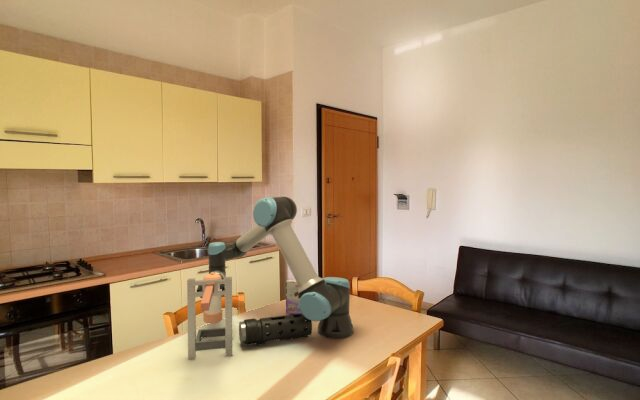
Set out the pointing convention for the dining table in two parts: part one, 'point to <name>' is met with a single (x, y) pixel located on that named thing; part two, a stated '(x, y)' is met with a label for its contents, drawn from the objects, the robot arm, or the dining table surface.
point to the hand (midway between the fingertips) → (211, 298)
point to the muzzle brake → (274, 329)
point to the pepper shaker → (213, 304)
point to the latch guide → (192, 315)
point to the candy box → (292, 297)
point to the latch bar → (207, 297)
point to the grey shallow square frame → (210, 343)
